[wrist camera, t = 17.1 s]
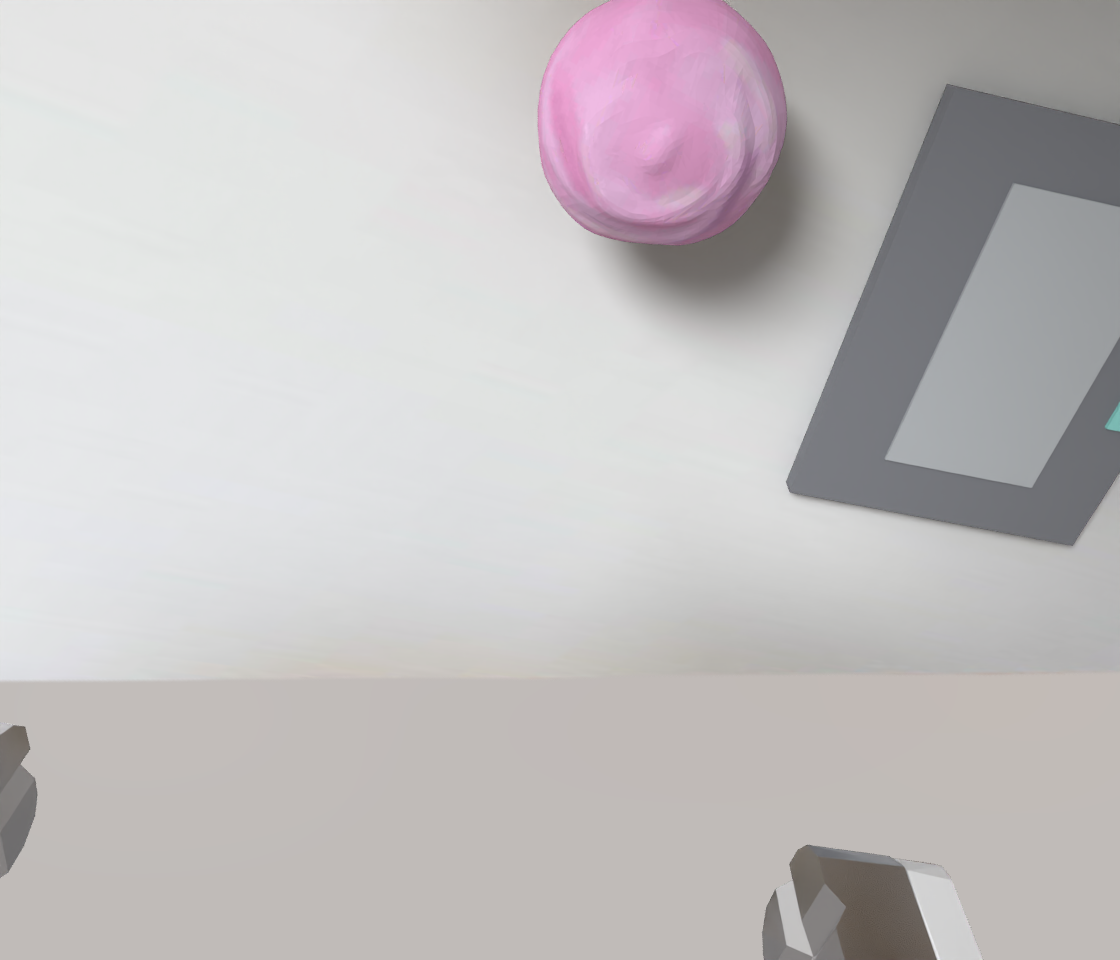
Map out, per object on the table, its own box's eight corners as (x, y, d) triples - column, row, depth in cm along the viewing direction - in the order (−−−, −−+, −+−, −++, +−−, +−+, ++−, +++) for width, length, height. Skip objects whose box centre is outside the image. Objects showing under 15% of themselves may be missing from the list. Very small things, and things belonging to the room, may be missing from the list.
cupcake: (531, 184, 39) (517, 254, 31) (559, -40, 35) (552, -32, 26) (726, 215, 40) (766, 291, 31) (779, -2, 35) (843, 18, 27)
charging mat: (947, 84, 37) (957, 88, 36) (1295, 166, 38) (1314, 172, 37) (786, 482, 47) (790, 494, 46) (1063, 535, 48) (1074, 547, 47)
